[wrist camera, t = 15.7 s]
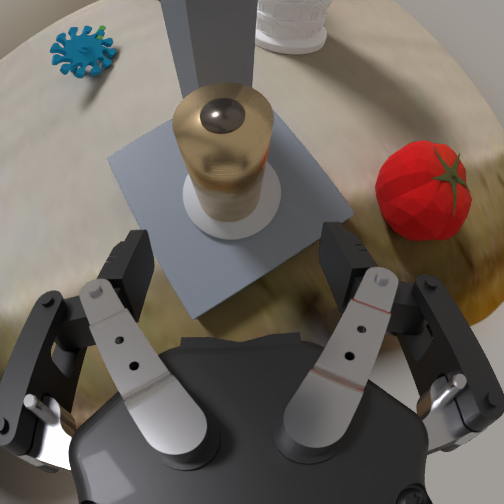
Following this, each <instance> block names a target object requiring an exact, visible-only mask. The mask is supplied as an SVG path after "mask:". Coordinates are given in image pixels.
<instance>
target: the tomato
mask: <svg viewBox="0 0 504 504" xmlns="http://www.w3.org/2000/svg"><path fill="white" fill-rule="evenodd" d="M459 156H460V153H459V155H458V156H457V155H456V153H455V152H454V151H453V150H452V149H451V148H450V147H449V146H447V145H445V144H435V143H431V142H429V141H417V142H412V143H409V144H408V145H406V146H405V147H403V148H402V149H400V150H399V151H397V152H396V153H394V154H393V155H391V156H390V157H389V158H388V159H387V161H386V162H385V163H384V164H383V166H382V167H381V169H380V172H379V175H378V179H377V182H376V185H375V189H376V197H377V200H378V204H379V207H380V210H381V213H382V216H383V218H384V219H385V221H386V222H387V223H388V224H389V225H390V227H391V228H392V229H393V230H394V231H395V232H396V233H398V234H400V235H401V236H403V237H405V238H407V239H408V240H417V241H426V240H445V239H449V238H450V237H452V236H454V235H455V234H457V232H458V231H459V229H460V227H461V226H462V224H463V223H464V221H465V219H466V218H467V216H468V213H469V210H470V206H471V202H472V198H471V195H470V191H469V190H468V187H467V184H466V171H465V168H464V166H463V164H462V163H461V161H460V159H459Z"/></svg>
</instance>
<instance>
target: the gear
mask: <svg viewBox="0 0 504 504" xmlns="http://www.w3.org/2000/svg"><path fill="white" fill-rule="evenodd" d="M105 29H106V27H105V26H100V27H99V29H98V30H97V32H96V33H95V34H93V35H87V34H89V33H90V32H91V30H92V27H90V26H85V27H84V29H83V31H82V34H81V35H80V36H77V35H75V34H76V32H77V31H78V28H77V27H72V28H70V30H69V32H68V34H69V35H70V37H71V40H66V38H65V37H66V34H65V33H61V34H59V35H58V36H57V38H56V41H57V42H59V43H61V44H63V46H64V48H62V47H60V45H59V44H58V43H54V44H53V45H52V47H51V50H50V53H60V54H62V55H64V56H60V55H58V54H55V55H54V56H53V58H52V65H57V64H59V63H61V62H70V63H71V64H63V65H62V66H61V69H60V71H61V72H62V73H63V74H64V75H66V74H67V73H68V72H69V70H70V72H72V73H74V72H76V73H75V77H77V78H82V77H83V76H84V74H85V68H86V66H88V65H91V66H92V67H93V68H92V70H91V71H90V75H91V76H95V75H98V74H99V73H100V71H101V69H100V67H99V66H98V64H97V60H100V61H101V62H102V67H103V68H104V69H106V68H108V67H109V66H110V65H111V63H112V61H111V60H110V59H108V58H112V57H113V56H114V54H115V52H116V50H115V49H109V48H106V47H111V45H112V44H113V40H112V38H108V39H105V40H102V39H103V36H104V34H105V33H104V30H105ZM102 45H104V46H106V47H104V46H102ZM103 53H105V54H106V55H107V57H108V58H106V57H105V56H104V55H103ZM78 66H80V67H81V68H79V69H77V68H78ZM76 70H77V71H76Z"/></svg>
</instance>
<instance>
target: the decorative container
mask: <svg viewBox="0 0 504 504" xmlns="http://www.w3.org/2000/svg"><path fill="white" fill-rule="evenodd" d="M331 1H332V0H258V6H257V20H256V35H255V44H256V45H257V46H259V47H261V48H264V49H267V50H269V51H273V52H278V53H283V54H292V55H294V54H308V53H313V52H315V51H318V50H320V49H321V48H322V47H323V46H324V44H325V41H326V38H327V31H326V29H325V27H324V26H323V25H324V23H325V21H326V18H327V17H326V16H327V12H326V10H327V8H328V7H329V6H330V4H331V3H332V2H331Z"/></svg>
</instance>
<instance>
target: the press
mask: <svg viewBox="0 0 504 504" xmlns="http://www.w3.org/2000/svg"><path fill="white" fill-rule="evenodd" d="M160 2H161V6H162V11H163V16H164V20H165V25H166V29H167V34H168V38H169V42H170V47H171V51H172V55H173V60H174V64H175V68H176V72H177V76H178V80H179V84H180V88H181V93H182V97H183V99H184V98H185V97H186V96H187V95H189V94H190V93H191V92H193V91H195V90H197V89H199V88H201V87H203V86H206V85H210V84H214V83H222V82H230V83H238V84H242V85H246V86H248V87H251V88H252V81H253V65H254V50H255V35H256V20H257V6H258V0H160ZM272 110H273V109H272ZM273 114H274V123H273V129H272V135H271V140H270V145H269V151H268V156H267V162H266V167H265V172H264V178H263V183H262V189H261V194H260V199H259V203H258V205H257V207H256V208H255V210H254V211H253V212H252V213H251V214H250V215H249V216H247V217H246V218H244V219H242V220H239V221H236V222H221V221H218V220H215V219H213V218H211V217H210V216H209V215H207V214H206V213H205V212H204V210H203V209H202V207H201V205H200V203H199V200H198V197H197V195H196V192H195V189H194V187H193V184H192V182H191V179H190V176H189V174H188V171H187V168H186V165H185V163H184V160H183V157H182V155H181V152H180V149H179V146H178V144H177V141H176V138H175V135H174V132H173V127H172V120H173V119H171V120H169V121H167V122H165V123H164V124H162V125H160V126H158V127H156V128H155V129H153V130H151V131H150V132H148V133H146V134H144V135H143V136H141V137H139V138H138V139H136V140H135V141H133V142H131V143H130V144H128V145H127V146H125V147H123V148H122V149H120V150H119V151H117V152H116V153H114V154H113V155H111V156H110V157H108V158H107V160H108V162H109V164H110V167H111V169H112V171H113V173H114V175H115V178H116V180H117V182H118V184H119V186H120V188H121V191H122V193H123V195H124V197H125V199H126V201H127V203H128V205H129V207H130V209H131V211H132V213H133V215H134V217H135V219H136V221H137V223H138V225H139V227H140V229H141V230H144V229H146V230H147V231H148V234H149V239H150V243H151V248H152V251H153V253H154V255H155V257H156V259H157V260H158V262H159V264H160V266H161V268H162V269H163V271H164V273H165V275H166V276H167V278H168V280H169V282H170V283H171V285H172V287H173V288H174V290H175V292H176V293H177V295H178V297H179V298H180V300H181V302H182V303H183V305H184V307H185V308H186V310H187V312H188V313H189V315H190V316H191V318H192V320H193V319H196V318H198V317H200V316H201V315H203V314H204V313H206V312H208V311H209V310H211V309H212V308H214V307H216V306H217V305H219V304H220V303H222V302H224V301H225V300H227V299H228V298H230V297H231V296H233V295H235V294H236V293H238V292H239V291H241V290H242V289H244V288H246V287H247V286H249V285H250V284H252V283H253V282H255V281H256V280H258V279H260V278H261V277H263V276H264V275H266V274H267V273H269V272H270V271H272V270H273V269H275V268H276V267H278V266H279V265H281V264H283V263H284V262H286V261H287V260H289V259H290V258H292V257H293V256H295V255H296V254H298V253H299V252H301V251H302V250H304V249H305V248H307V247H308V246H310V245H311V244H313V243H314V242H316V241H317V240H319V239H320V238H321V232H322V226H323V223H324V222H341V223H344V222H345V221H347V220H348V219H349V218H350V217H352V216H353V215H354V214H355V213H354V211H353V210H352V208H351V207H350V206H349V204H348V203H347V201H346V200H345V199H344V197H343V196H342V194H341V193H340V192H339V190H338V189H337V188H336V186H335V185H334V184H333V182H332V181H331V180H330V178H329V177H328V176H327V174H326V173H325V172H324V170H323V169H322V168H321V166H320V165H319V164H318V163H317V161H316V160H315V159H314V158H313V156H312V155H311V154H310V153H309V151H308V150H307V149H306V148H305V146H304V145H303V144H302V143H301V142H300V140H299V139H298V138H297V137H296V136H295V134H294V133H293V132H292V131H291V130H290V129H289V127H288V126H287V125H286V124H285V123H284V122H283V121H282V119H281V118H280V117H279V116H278V115H277V114H276V113H275V112H274V110H273Z"/></svg>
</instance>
